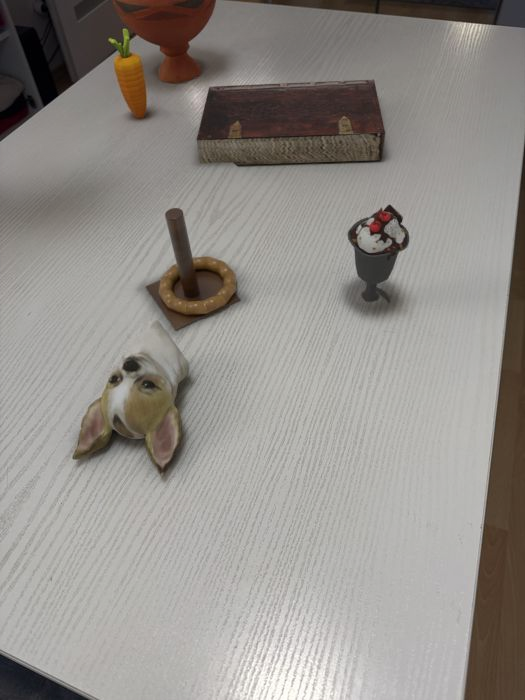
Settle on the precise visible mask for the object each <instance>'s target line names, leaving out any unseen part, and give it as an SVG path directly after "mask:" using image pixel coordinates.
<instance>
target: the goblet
mask: <svg viewBox="0 0 525 700" xmlns="http://www.w3.org/2000/svg"><path fill="white" fill-rule="evenodd" d="M216 2H217V0H112V4H113V7H114V9H115V11H116V13H117V15H118V17H119V18H120V20H121V21H122V23H124V25H126V27H128V28H129V29H130V31H132V32H133V33H134V34H135V35H136V36H138V37H139V38H140V39H142V40H144V41H146V42H148V43H150V44H152V45H155V46H158V47H159V52H161V53H162V54H163V55H164V58H163V60H162V62H161V64H160V65H159V68H158V79H160V80H161V82H164V83H167V84H182V83H187V82H189V81H193V80H194V79H196V78H198V77H200V76H201V73H202V68H201V66H200V64H199V63H198V61H196V59H194V58H193V57H192V56H191V55H189V54H188V51H189V49H190V42H191V41H192V40H194V39H195V38H196V37H197V36H198V35H199V34H200V33H201V32H202V31H203V30H204V28H205V27H206V26H207V24H208V23H209V21H210V19H211V17H213V13H214V11H215V8H216Z"/></svg>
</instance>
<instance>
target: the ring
mask: <svg viewBox="0 0 525 700" xmlns="http://www.w3.org/2000/svg"><path fill="white" fill-rule="evenodd" d="M192 257H193V262H194V266H195V270H201V269H208V270H211V271H214V272H217V273H219V275H220V276H221V277H222V278H223V287H222V288H221V289H220V291H219V292H218V293H217V294H216V295H214V296H212V297H210V298H208V299H206V300H203V301H185V300H183V299H180V298H177V297H176V296H175V294H174V293H173V291H172V288H173V283H174V282H175V281H176V280H177V279H178V277H179V271H178V267H177V263H176V262H175V263H174V264H172V265H171V266H170V267H169V268H168V269H167V270H166V272H164V274H163V275H162V276H161V277H160V279H159V280H160V287H159V295H160V297H161V298H162V300H163V301H164V303H165V304H166V305H167V307H168V308H169V309H172V310H174V311H177V312H180V313H182V314H185V315H194V314H207V313H209V312H211V311H214V310H216V309H218V308H220V307H222V306H224V305H225V304H226V303H227V302H228V300H229V299H230V298H231V297H232V295H233V294H234V293H236V292H237V291H236V290H237V274H236V272H235V271H234V270H233V269H232V268H231V267H230V266H229V264H228V263H226V261H223V260H220V259H217V258H215V257H214V258H213V257H211V256H196V257H194V256H192Z"/></svg>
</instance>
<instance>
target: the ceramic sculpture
mask: <svg viewBox="0 0 525 700" xmlns="http://www.w3.org/2000/svg"><path fill="white" fill-rule="evenodd" d="M189 372H190V364H189V360H187V358H186V357H185V355H184V354H183V352H182V350H181V349H180V348H179V347H178V345H177V344H176V342H175V341H174V340H173V338H172V337H171V335H170V333H169V332H168V331H167V330H166V329H165V327H164V326H163V325H162V323H161V322H160V321H158V320H154V321H153V322H152V323H151V324H150V325H149V326H148V327H147V328H144V329H142V331H140V332H139V333H138V334H136V336H135V337H133V339H132V340H131V341H129V344H128V345H127V347H126V349H125V351H123V354H122V359H121V360H120V361H119V362H118V365H117V366H116V367H115V368H114V369H113V371H112V372H111V374H110V375H109V377H108V379H107V381H106V384H105V388H104V389H103V391H102V393H101V396H100V397H99V398H97V399H95V400H94V401H93V402H92V403H90V405H89V406H88V407H87V410H86V413H85V414H84V416H83V417H82V419H81V424H80V428H81V429H79V433H78V441H77V446H76V448H75V450H74V452H73V454H72V459H71V460H74V461H75V460H79V459H82V458H84V457H85V456H87V455H90V454H93V453H94V452H97V451H98V450H100V449H103V448H104V447H106V446H107V445H108V444H109V442H110V440H111V439H112V435H113V434H112V433H113V430H114V431H116V432H117V433H118V434H119V435H120V436H123V437H125V438H128V439H130V440H141V439H144V441H145V449H146V454H147V456H148V458H150V459H151V461H152V462H153V464H154V465H155V466H156V468H157V471H158V474H159V475H160V476H163V475H164V474H165V473H166V471H167V470H168V469H169V467H170V466H171V465H172V463H173V461H174V460H175V457H176V456H177V453H178V450H179V448H180V443H181V439H182V428H183V427H182V425H183V420H182V417H181V414H180V411H179V409H177V407H176V405H175V401H176V400H175V399H176V397H177V392H178V391H177V390H178V387H179V384H180V383H181V382H182V381H183V380H184V379H185V378H186V377H187V376H188V374H189Z"/></svg>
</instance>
